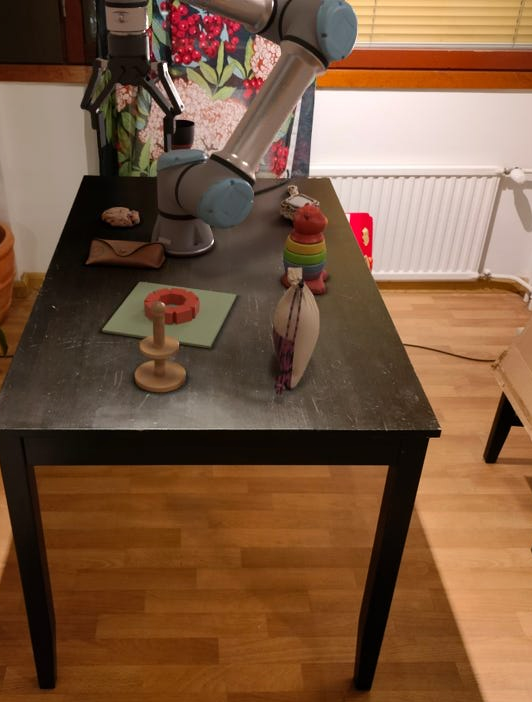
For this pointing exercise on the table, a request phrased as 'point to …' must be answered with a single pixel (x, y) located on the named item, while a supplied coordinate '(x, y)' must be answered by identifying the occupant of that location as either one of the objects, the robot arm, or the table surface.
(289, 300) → the pouch
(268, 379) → the table surface
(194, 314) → the ring
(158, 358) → the ring post
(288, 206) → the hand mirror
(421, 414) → the table surface
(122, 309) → the mat
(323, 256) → the stacking bear
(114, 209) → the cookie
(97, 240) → the sunglasses case
